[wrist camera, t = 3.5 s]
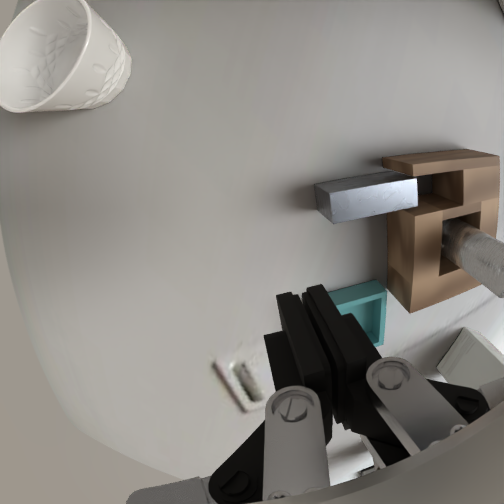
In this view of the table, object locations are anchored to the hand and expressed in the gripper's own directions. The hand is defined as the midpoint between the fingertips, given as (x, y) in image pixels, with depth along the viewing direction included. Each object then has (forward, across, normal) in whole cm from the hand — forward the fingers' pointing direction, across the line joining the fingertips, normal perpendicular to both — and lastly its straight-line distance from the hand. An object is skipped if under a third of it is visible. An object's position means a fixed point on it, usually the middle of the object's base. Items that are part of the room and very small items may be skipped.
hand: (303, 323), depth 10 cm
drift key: (+16, -9, 0) cm, 18 cm away
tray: (+16, -7, +13) cm, 22 cm away
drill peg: (+16, -18, +5) cm, 25 cm away
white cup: (+16, +11, -16) cm, 25 cm away
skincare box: (+16, -27, +27) cm, 42 cm away
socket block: (+16, -18, +5) cm, 25 cm away
